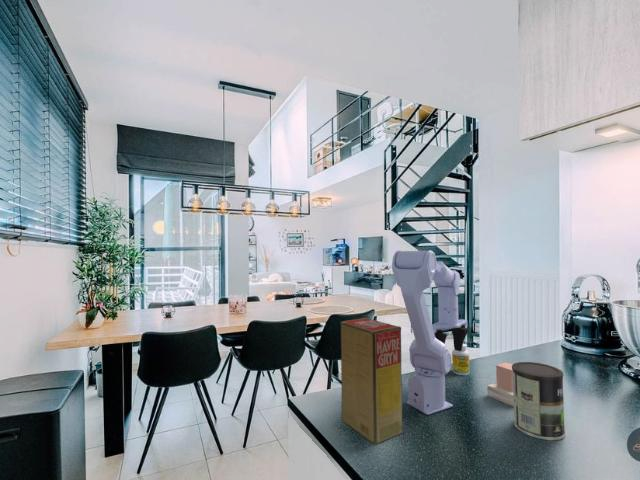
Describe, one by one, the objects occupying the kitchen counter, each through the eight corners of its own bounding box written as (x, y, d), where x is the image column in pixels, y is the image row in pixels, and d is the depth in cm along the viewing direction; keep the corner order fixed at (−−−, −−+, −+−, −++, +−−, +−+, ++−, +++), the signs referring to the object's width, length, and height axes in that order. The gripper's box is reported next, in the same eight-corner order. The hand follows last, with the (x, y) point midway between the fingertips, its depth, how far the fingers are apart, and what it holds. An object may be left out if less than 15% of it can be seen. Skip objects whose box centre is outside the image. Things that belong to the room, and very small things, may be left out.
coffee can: (563, 424, 82) (561, 365, 82) (567, 446, 73) (565, 380, 73) (514, 413, 87) (512, 358, 88) (512, 432, 79) (510, 371, 79)
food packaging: (405, 432, 79) (402, 326, 80) (374, 446, 74) (372, 332, 75) (368, 410, 91) (366, 316, 91) (339, 420, 86) (337, 321, 86)
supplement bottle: (464, 369, 119) (463, 341, 119) (472, 375, 113) (472, 346, 114) (449, 370, 118) (448, 342, 118) (457, 376, 113) (457, 347, 113)
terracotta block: (511, 392, 93) (511, 370, 93) (496, 386, 97) (496, 365, 97) (521, 388, 95) (521, 367, 95) (506, 382, 99) (506, 362, 99)
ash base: (514, 407, 91) (514, 395, 91) (487, 395, 98) (487, 385, 98) (532, 400, 94) (532, 389, 94) (505, 389, 102) (504, 379, 102)
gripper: (441, 313, 98) (442, 360, 98) (475, 308, 105) (476, 351, 105) (423, 309, 105) (424, 353, 105) (456, 304, 111) (457, 346, 111)
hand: (449, 352), depth 105 cm, fingers open, 7 cm apart
